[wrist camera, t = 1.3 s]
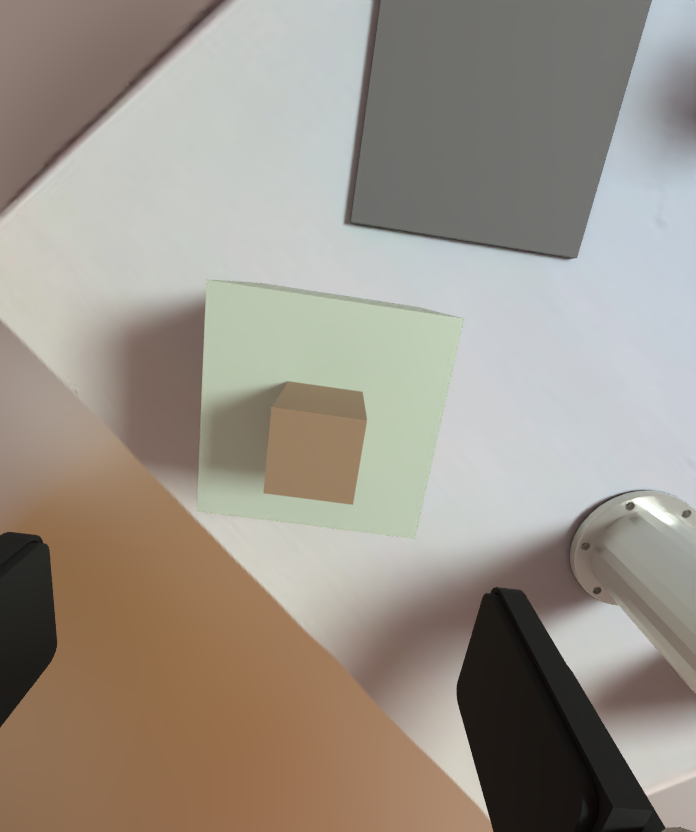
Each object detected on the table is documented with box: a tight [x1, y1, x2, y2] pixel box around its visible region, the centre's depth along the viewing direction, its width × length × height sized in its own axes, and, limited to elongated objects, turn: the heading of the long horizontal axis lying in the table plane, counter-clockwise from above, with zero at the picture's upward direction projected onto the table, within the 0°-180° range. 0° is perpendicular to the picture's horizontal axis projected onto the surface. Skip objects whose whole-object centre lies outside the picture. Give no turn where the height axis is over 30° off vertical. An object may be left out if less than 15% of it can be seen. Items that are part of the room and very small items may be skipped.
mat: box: [351, 0, 652, 258], centre depth 30 cm, size 18×18×1 cm
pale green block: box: [197, 280, 464, 539], centre depth 27 cm, size 13×13×19 cm
